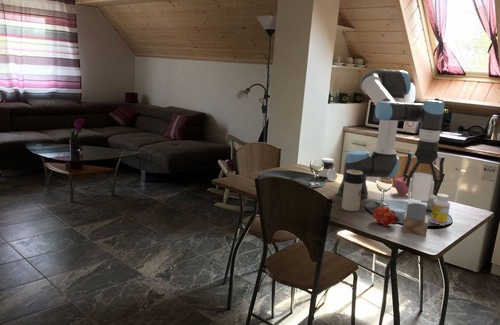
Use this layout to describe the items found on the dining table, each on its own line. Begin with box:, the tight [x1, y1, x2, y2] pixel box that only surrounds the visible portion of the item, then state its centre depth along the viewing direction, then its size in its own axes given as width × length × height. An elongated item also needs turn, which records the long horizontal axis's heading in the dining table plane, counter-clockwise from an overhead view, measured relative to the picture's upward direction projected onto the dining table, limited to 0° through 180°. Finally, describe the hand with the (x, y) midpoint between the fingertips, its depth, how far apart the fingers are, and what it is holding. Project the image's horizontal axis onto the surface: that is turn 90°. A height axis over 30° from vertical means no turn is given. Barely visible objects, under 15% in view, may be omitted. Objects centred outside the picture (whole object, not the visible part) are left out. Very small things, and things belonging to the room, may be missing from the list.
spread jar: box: [317, 157, 338, 182], centre depth 247 cm, size 12×11×12 cm
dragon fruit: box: [371, 205, 400, 228], centre depth 176 cm, size 8×8×12 cm
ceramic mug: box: [420, 194, 437, 212], centre depth 200 cm, size 11×8×8 cm
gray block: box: [406, 199, 428, 222], centre depth 170 cm, size 7×7×6 cm
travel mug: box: [341, 170, 363, 212], centre depth 193 cm, size 8×8×18 cm
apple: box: [393, 177, 409, 196], centre depth 224 cm, size 10×9×10 cm
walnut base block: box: [401, 212, 429, 238], centre depth 171 cm, size 9×9×6 cm
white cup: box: [410, 172, 434, 202], centre depth 168 cm, size 8×8×10 cm
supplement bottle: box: [429, 193, 451, 226], centre depth 182 cm, size 7×7×13 cm
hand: (419, 196), depth 168 cm, fingers closed on white cup, 7 cm apart
